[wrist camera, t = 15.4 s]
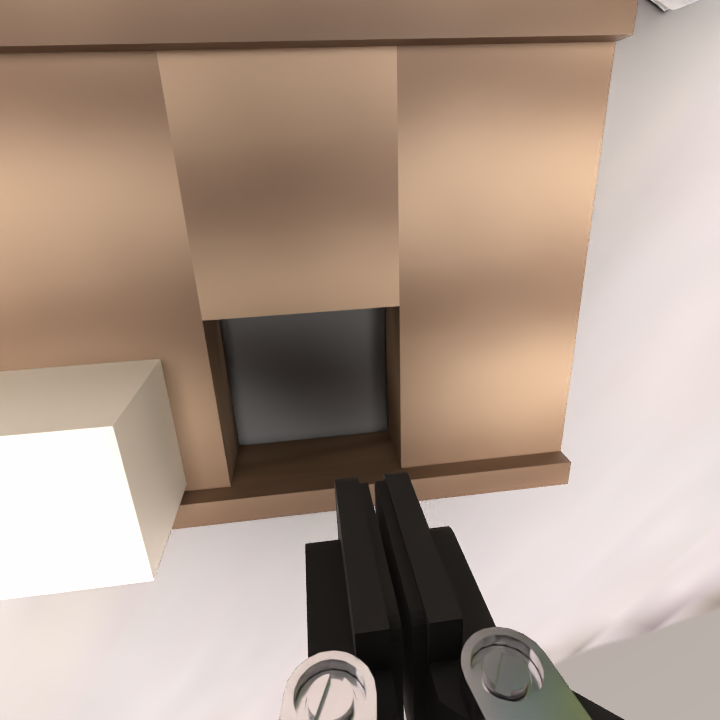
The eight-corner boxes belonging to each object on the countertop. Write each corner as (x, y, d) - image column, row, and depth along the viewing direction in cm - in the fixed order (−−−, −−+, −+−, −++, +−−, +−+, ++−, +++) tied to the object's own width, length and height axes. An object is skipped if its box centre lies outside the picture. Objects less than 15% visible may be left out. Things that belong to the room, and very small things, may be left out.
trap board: (-664, 49, 13) (-1188, -17, 8) (566, 28, 16) (671, -26, 12) (-325, 522, 19) (-522, 635, 14) (525, 434, 22) (584, 503, 18)
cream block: (-2, 371, 15) (-111, 446, 11) (160, 358, 16) (112, 426, 12) (43, 499, 17) (-37, 604, 13) (186, 484, 18) (153, 580, 14)
